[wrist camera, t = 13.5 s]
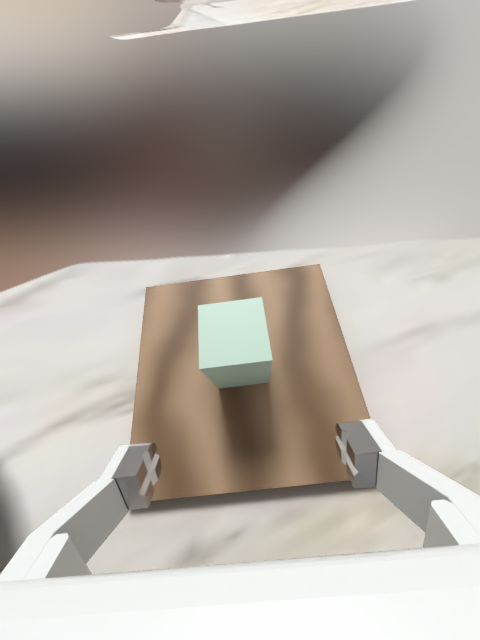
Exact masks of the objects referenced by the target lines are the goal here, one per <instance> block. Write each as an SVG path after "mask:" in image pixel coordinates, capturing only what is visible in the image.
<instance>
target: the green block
mask: <svg viewBox="0 0 480 640" xmlns="http://www.w3.org/2000/svg"><path fill="white" fill-rule="evenodd" d="M198 339H199V369H200V370H201V371H202V372H203V373H204V374H205V375H206V376H207V377H208V378H209V379H210V380H211V381H212V382H213V383H214V384H215V385H216V386H217V387H218V388H219V389H220V388H229V387H237V386H246V385H254V384H263V383H269V379H270V373H271V367H272V361H273V359H272V353H271V348H270V342H269V336H268V330H267V324H266V318H265V312H264V306H263V300H262V297H259V298H251V299H244V300H236V301H228V302H220V303H213V304H205V305H198Z"/></svg>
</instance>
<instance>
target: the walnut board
mask: <svg viewBox="0 0 480 640" xmlns="http://www.w3.org/2000/svg"><path fill="white" fill-rule="evenodd" d="M259 297H262V300H263V306H264V312H265V318H266V324H267V330H268V336H269V342H270V348H271V353H272V359H273V361H272V367H271V373H270V379H269V383H263V384H254V385H246V386H237V387H229V388H220V389H219V388H218V387H217V386H216V385H215V384H214V383H213V382H212V381H211V380H210V379H209V378H208V377H207V376H206V375H205V374H204V373H203V372H202V371H201V370H200V369H199V339H198V305H205V304H213V303H220V302H228V301H236V300H244V299H251V298H259ZM364 419H370V416H369V413H368V410H367V407H366V404H365V401H364V398H363V395H362V392H361V389H360V386H359V383H358V380H357V376H356V373H355V370H354V367H353V364H352V361H351V358H350V355H349V352H348V349H347V346H346V343H345V340H344V337H343V334H342V331H341V328H340V325H339V322H338V319H337V316H336V313H335V310H334V307H333V304H332V301H331V297H330V294H329V291H328V288H327V285H326V282H325V279H324V276H323V273H322V270H321V267H320V264H317V265H309V266H302V267H294V268H287V269H280V270H272V271H265V272H257V273H250V274H242V275H235V276H227V277H220V278H213V279H205V280H198V281H190V282H183V283H175V284H168V285H160V286H153V287H146V295H145V305H144V315H143V324H142V334H141V344H140V354H139V363H138V373H137V383H136V392H135V402H134V412H133V422H132V431H131V441H130V445H131V444H141V443H155V444H156V447H157V450H156V454H158V455H159V456H160V459H161V474H160V477H159V480H158V481H157V482H156V483H155V484H154V485H153V487H154V490H155V491H154V494H153V497H152V500H151V501H156V500H165V499H175V498H185V497H194V496H204V495H213V494H223V493H233V492H242V491H252V490H261V489H271V488H281V487H290V486H300V485H310V484H319V483H329V482H338V481H348V480H350V479H349V477H348V475H347V473H346V465H345V464H343V463H342V462H341V460H340V458H339V455H338V452H337V448H336V442H335V438H336V436H337V435H338V434H337V432H336V430H335V425H336V423H339V422H347V421H356V420H364Z"/></svg>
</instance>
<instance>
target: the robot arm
mask: <svg viewBox="0 0 480 640" xmlns="http://www.w3.org/2000/svg"><path fill="white" fill-rule="evenodd" d="M335 430H336V432H337V434H338V435H337V436H336V438H335V442H336V448H337V452H338V455H339V458H340V460H341V462H342V463H343V464H345V465H346V473H347V475H348V477H349V479H350V481H351V484H352V486H353V488H354V489H357V488H373V487H376V489H377V490H378V491H379V492H381V493H382V494H383V495H384V496H385V497H386V498H387V499H388V500H390V501H391V502H392V503H393V504H394V505H395V506H396V507H397V508H398V509H400V510H401V511H402V512H403V513H404V514H405V515H406V516H407V517H408V518H410V519H411V520H412V521H413V522H414V523H415V524H416V525H417V526H419V527H420V528H421V529H422V530H423V531H424V532H425V538H424V543H423V548H416V549H403V550H391V551H379V552H366V553H354V554H341V555H329V556H316V557H304V558H291V559H279V560H266V561H254V562H241V563H229V564H217V565H205V566H193V567H180V568H168V569H155V570H143V571H130V572H118V573H105V574H93V575H92V573H91V572H90V570H89V568H88V567H87V565H86V563H87V562H88V561H89V559H90V558H91V557H92V556H93V554H94V553H95V552H96V551H97V550H98V548H99V547H100V546H101V545H102V543H103V542H104V541H105V540H106V539H107V537H108V536H109V535H110V534H111V532H112V531H113V530H114V529H115V528H116V526H117V525H118V524H119V523H120V521H121V520H122V519H123V518H124V517H125V515H126V514H127V513H128V510H135V509H143V508H149V505H150V502H151V500H152V497H153V494H154V491H155V490H154V487H153V485H154V484H155V483H156V482H157V481H158V480H159V477H160V474H161V459H160V456H159V455H158V454H156V450H157V447H156V444H155V443H141V444H131V445H121V446H120V447H119V448H118V449H117V450H116V452H115V454H114V455H113V457H112V459H111V460H110V462H109V464H108V465H107V467H106V468H105V470H104V472H103V473H102V475H101V477H100V478H99V480H97V481H94V482H93V483H92V484H90V485H89V486H88V487H87V488H85V489H84V490H83V491H82V492H81V493H79V494H78V495H77V496H76V497H75V498H73V499H72V500H71V501H70V502H68V503H67V504H66V505H65V506H64V507H62V508H61V509H60V510H59V511H58V512H56V513H55V514H54V515H53V516H51V517H50V518H49V519H48V520H47V521H45V522H44V523H43V524H42V525H41V526H39V527H38V528H37V529H36V530H34V531H33V532H32V533H31V534H30V535H29V536H28V537H27V538H26V540H25V541H24V542H23V544H22V545H21V547H20V548H19V549H18V551H17V552H16V553H15V555H14V556H13V557H12V559H11V560H10V562H9V563H8V564H7V566H6V567H5V568H4V570H3V571H2V573H1V574H0V640H480V497H479V496H478V495H477V494H475V493H473V492H472V491H470V490H468V489H467V488H465V487H463V486H461V485H460V484H458V483H456V482H455V481H453V480H451V479H449V478H448V477H446V476H444V475H443V474H441V473H439V472H437V471H436V470H434V469H432V468H431V467H429V466H427V465H425V464H424V463H422V462H420V461H419V460H417V459H415V458H413V457H412V456H410V455H408V454H407V453H405V452H403V451H401V450H396V448H395V447H394V446H393V445H392V443H391V442H390V441H389V439H388V438H387V437H386V435H385V434H384V433H383V432H382V430H381V429H380V428H379V426H378V425H377V424H376V422H375V421H374V420H373V419H364V420H356V421H347V422H339V423H336V425H335Z"/></svg>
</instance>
